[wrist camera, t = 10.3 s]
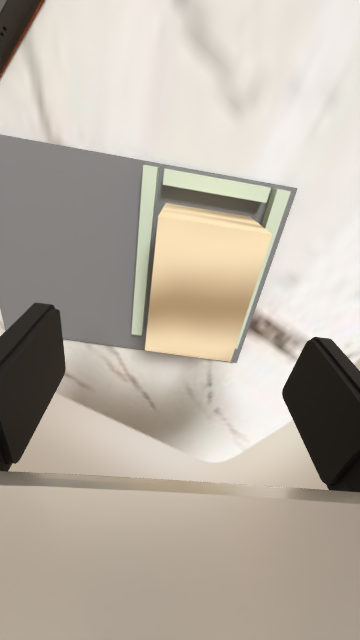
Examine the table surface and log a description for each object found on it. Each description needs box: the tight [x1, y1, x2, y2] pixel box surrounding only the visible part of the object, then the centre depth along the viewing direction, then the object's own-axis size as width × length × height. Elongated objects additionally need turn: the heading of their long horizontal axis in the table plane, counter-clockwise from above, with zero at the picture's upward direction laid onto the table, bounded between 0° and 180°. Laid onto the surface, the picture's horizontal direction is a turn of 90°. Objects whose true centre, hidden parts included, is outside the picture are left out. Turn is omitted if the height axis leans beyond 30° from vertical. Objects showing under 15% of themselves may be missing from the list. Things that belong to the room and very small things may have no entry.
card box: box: [145, 203, 272, 362], centre depth 16 cm, size 8×6×5 cm
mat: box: [0, 135, 297, 363], centre depth 18 cm, size 20×14×2 cm
